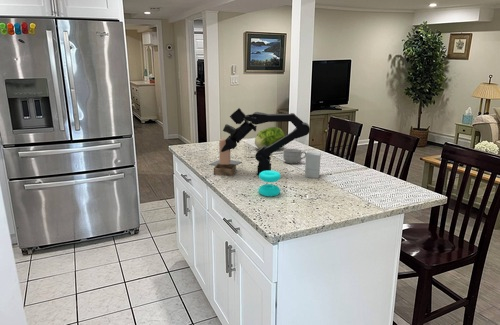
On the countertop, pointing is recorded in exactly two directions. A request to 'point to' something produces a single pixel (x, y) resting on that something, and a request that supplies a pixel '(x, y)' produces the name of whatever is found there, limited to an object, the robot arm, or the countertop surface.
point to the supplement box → (312, 164)
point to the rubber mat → (230, 162)
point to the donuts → (269, 188)
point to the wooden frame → (225, 169)
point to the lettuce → (268, 136)
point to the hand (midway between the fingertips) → (222, 150)
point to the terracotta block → (224, 153)
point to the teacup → (293, 155)
